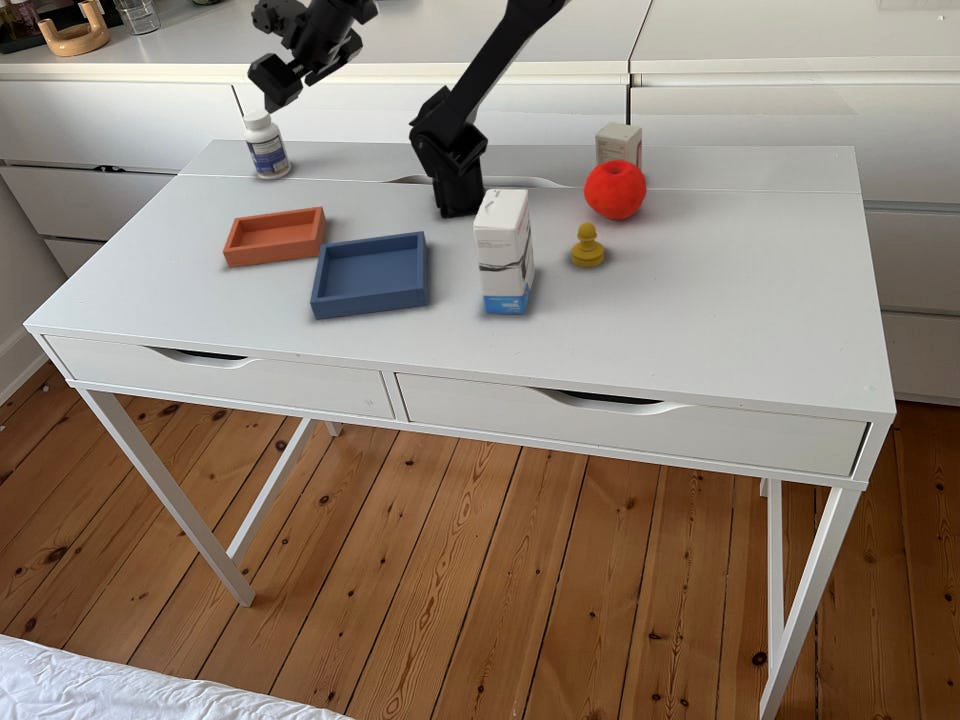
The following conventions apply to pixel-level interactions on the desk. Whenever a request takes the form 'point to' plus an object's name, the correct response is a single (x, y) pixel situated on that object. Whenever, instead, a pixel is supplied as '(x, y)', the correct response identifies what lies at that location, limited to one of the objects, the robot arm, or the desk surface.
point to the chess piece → (587, 247)
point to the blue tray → (370, 275)
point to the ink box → (504, 250)
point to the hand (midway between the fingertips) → (288, 97)
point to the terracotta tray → (275, 237)
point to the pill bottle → (265, 145)
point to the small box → (619, 144)
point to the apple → (615, 189)
